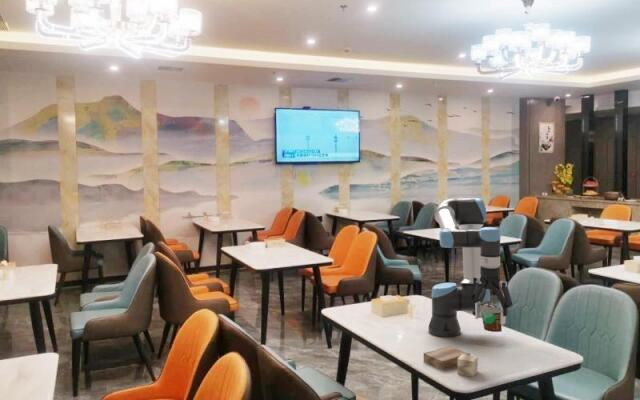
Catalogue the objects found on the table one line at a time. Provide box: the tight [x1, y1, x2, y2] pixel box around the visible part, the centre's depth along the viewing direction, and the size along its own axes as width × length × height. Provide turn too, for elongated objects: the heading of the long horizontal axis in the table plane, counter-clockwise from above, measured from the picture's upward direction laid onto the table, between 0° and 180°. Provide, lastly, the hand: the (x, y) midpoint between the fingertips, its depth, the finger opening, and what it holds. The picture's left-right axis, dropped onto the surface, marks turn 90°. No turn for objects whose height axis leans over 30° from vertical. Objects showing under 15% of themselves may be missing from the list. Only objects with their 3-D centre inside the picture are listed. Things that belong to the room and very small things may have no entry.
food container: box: [479, 301, 503, 333], centre depth 211 cm, size 12×6×10 cm, turn 4°
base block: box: [423, 346, 471, 371], centre depth 215 cm, size 11×15×4 cm
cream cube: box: [457, 354, 479, 377], centre depth 203 cm, size 6×6×6 cm
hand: (490, 320), depth 211 cm, fingers closed on food container, 10 cm apart
